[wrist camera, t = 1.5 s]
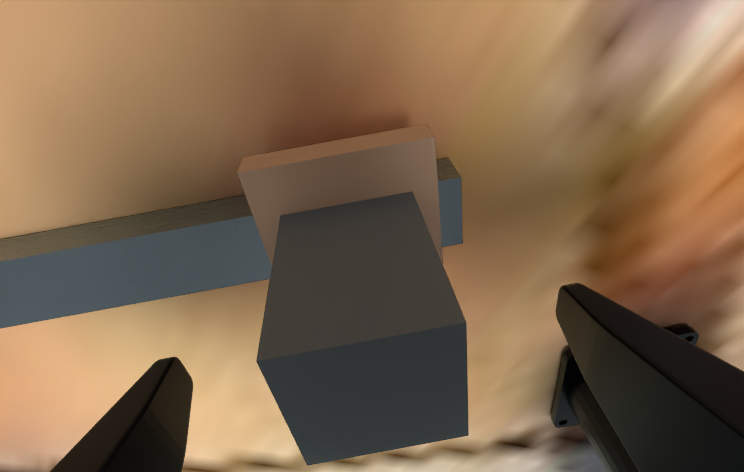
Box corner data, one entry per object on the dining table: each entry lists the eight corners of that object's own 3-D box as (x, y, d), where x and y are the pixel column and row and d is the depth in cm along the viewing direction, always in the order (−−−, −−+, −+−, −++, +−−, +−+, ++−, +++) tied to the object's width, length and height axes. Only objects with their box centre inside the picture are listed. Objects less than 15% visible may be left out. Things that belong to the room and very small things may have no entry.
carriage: (432, 278, 15) (497, 461, 10) (302, 302, 15) (292, 499, 10) (418, 112, 12) (511, 249, 6) (248, 143, 12) (181, 309, 6)
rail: (450, 220, 15) (462, 243, 14) (-18, 305, 15) (-49, 337, 13) (448, 157, 13) (461, 177, 12) (-70, 252, 13) (-111, 281, 12)
